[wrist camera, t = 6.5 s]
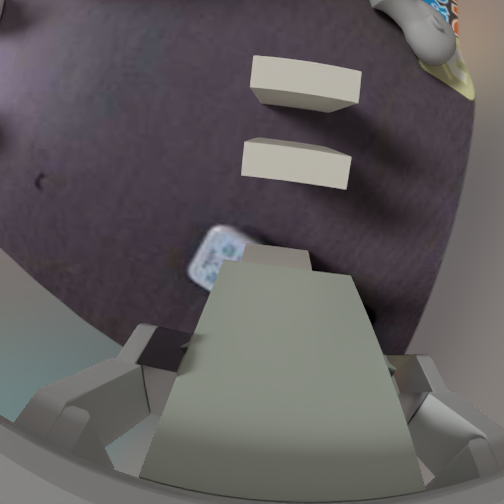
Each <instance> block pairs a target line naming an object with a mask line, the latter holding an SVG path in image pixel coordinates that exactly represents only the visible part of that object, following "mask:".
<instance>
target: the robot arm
mask: <svg viewBox="0 0 504 504" xmlns="http://www.w3.org/2000/svg"><path fill="white" fill-rule="evenodd" d="M193 336H194V334H193V333H188V332H183V331H178V330H173V329H169V328H164V327H160V326H159V327H158V326H154V325H149V324H145V323H141V324H139V325H138V326H137V328H136V329H135V331H134V332H133V334H132V335H131V337H130V338H129V340H128V341H127V343H126V344H125V346H124V347H123V349H122V350H121V352H120V353H119V355H118V356H117V358H116V359H114V358H110V359H107V360H105V361H103V362H100V363H98V364H96V365H94V366H91V367H89V368H87V369H85V370H83V371H80V372H78V373H75V374H73V375H71V376H68V377H66V378H64V379H61V380H59V381H57V382H54V383H52V384H50V385H47V386H45V387H43V388H40V389H38V391H37V392H36V393H35V395H34V396H33V397H32V398H31V400H30V401H29V403H28V404H27V405H26V407H25V408H24V409H23V411H22V412H21V413H20V415H19V416H18V418H17V419H16V420H15V422H14V423H13V422H11V421H9V420H8V419H6V418H4V417H3V416H1V415H0V504H504V428H503V427H502V426H500V425H499V424H498V423H496V422H495V421H494V420H492V419H491V418H489V417H488V416H487V415H485V414H484V413H482V412H481V411H480V410H478V409H477V408H475V407H474V406H473V405H471V404H470V403H469V402H467V401H466V400H464V399H463V398H462V397H460V396H459V395H458V394H456V393H455V392H454V391H448V389H447V387H446V385H445V383H444V381H443V379H442V377H441V375H440V373H439V372H438V369H437V367H436V366H435V364H434V362H433V360H432V358H431V356H429V355H428V354H412V355H402V354H382V355H383V357H384V360H385V363H386V366H387V367H388V370H389V372H390V375H391V379H392V382H393V385H394V388H395V391H396V394H397V396H398V398H399V401H400V404H401V407H402V410H403V413H404V416H405V419H406V422H407V426H408V429H409V432H410V435H411V439H412V442H413V445H414V449H415V452H416V456H418V458H419V459H420V460H421V461H422V462H423V463H424V464H425V466H426V467H427V468H428V469H429V470H430V471H431V472H432V473H433V474H434V476H435V478H434V479H433V480H431V482H429V483H428V484H427V485H426V486H425V489H426V490H425V491H424V492H421V493H416V494H411V495H405V496H399V497H392V498H385V499H377V500H368V501H356V502H341V503H280V502H265V501H253V500H244V499H235V498H228V497H221V496H215V495H209V494H203V493H198V492H193V491H188V490H184V489H179V488H175V487H171V486H166V485H163V484H159V483H155V482H151V481H148V480H144V479H141V478H138V477H134V476H131V475H128V474H125V473H122V472H119V471H116V470H114V466H113V464H112V462H111V460H110V458H109V456H108V454H107V452H106V450H105V447H106V446H107V445H109V444H110V443H112V442H113V441H114V440H116V439H117V438H119V437H120V436H122V435H123V434H124V433H126V432H127V431H128V430H130V429H131V428H133V427H134V426H135V425H137V424H138V423H139V422H141V421H142V420H143V419H145V418H146V417H147V416H149V415H150V413H152V414H156V415H161V416H162V413H163V411H164V408H165V405H166V403H167V400H168V398H169V395H170V392H171V390H172V387H173V385H174V382H175V380H176V377H177V376H178V373H179V371H180V368H181V366H182V363H183V361H184V358H185V354H186V352H187V349H188V347H189V346H190V343H191V341H192V338H193Z"/></svg>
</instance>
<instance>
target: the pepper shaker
mask: <svg viewBox="0 0 504 504" xmlns="http://www.w3.org/2000/svg"><path fill="white" fill-rule="evenodd" d="M3 5H4V0H0V18H1V14H2V9H3Z"/></svg>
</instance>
